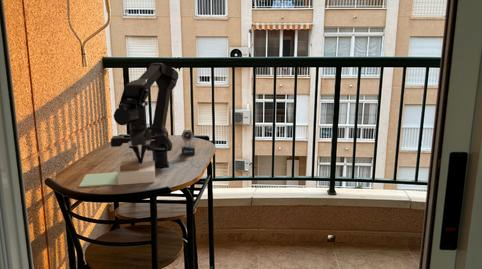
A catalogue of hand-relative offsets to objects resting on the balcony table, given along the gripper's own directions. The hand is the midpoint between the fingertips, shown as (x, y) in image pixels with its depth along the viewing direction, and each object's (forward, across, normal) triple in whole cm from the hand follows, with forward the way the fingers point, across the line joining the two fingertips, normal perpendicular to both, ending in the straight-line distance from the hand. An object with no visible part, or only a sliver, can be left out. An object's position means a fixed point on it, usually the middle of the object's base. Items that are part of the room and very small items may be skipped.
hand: (140, 163), depth 141 cm
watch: (+5, +19, +28) cm, 35 cm away
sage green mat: (+5, -14, 0) cm, 15 cm away
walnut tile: (+1, -4, 0) cm, 4 cm away
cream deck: (+5, -1, 0) cm, 5 cm away
